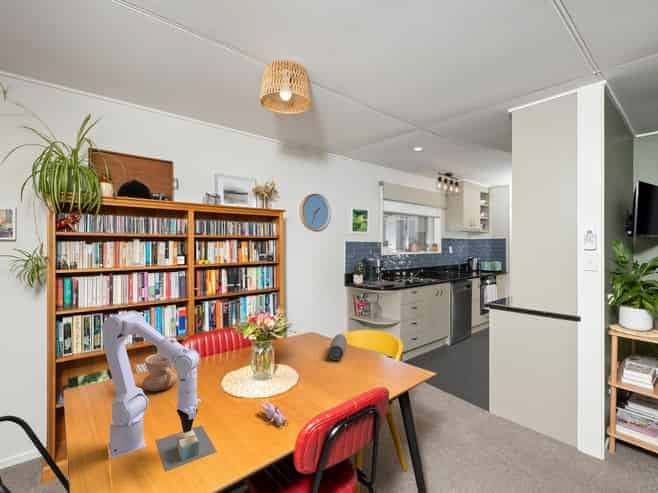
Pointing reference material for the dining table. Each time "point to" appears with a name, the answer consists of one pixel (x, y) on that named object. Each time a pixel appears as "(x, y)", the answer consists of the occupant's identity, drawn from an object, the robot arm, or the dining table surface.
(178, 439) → the maple block
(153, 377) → the ceramic jug
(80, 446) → the dining table surface
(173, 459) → the rubber mat
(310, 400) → the dining table surface
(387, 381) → the dining table surface
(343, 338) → the bluetooth speaker
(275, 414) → the rabbit figure
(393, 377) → the dining table surface
